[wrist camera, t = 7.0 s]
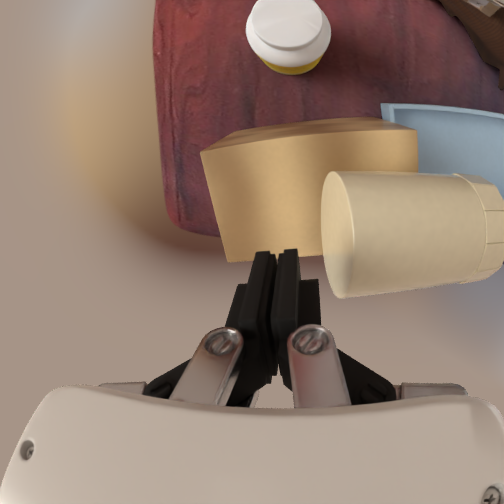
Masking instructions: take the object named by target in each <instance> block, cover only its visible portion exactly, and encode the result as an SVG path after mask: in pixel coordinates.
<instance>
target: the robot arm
mask: <svg viewBox="0 0 504 504" xmlns="http://www.w3.org/2000/svg"><path fill="white" fill-rule="evenodd" d="M278 364H279V369H280V375H281V376H282V378H283V383H284V385H285V386H286V387H287V388H288V389H290V390H291V391H292V392H293V400H294V409H272V408H271V409H270V408H255V405H256V402H257V399H258V397H259V389H260V388H262V387H263V386H264V385H266V384H271V380H272V376H276V375H277V371H278ZM0 504H504V418H503V416H502V415H501V413H500V412H499V410H498V409H497V408H496V407H495V406H494V405H493V404H492V403H489V402H488V401H486V400H483V399H480V398H476V397H471V396H468V393H467V391H466V390H465V389H464V388H463V387H462V386H460V385H458V384H452V383H451V384H450V383H449V384H433V383H430V384H429V383H402V384H401V385H392V384H391V383H390V382H389V381H388V380H386V379H385V378H383V377H381V376H380V375H378V374H377V373H375V372H374V371H372V370H370V369H369V368H367V367H365V366H364V365H362V364H361V363H359V362H358V361H356V360H354V359H353V358H351V357H350V356H348V355H347V354H345V353H343V352H342V351H340V350H339V349H337V348H336V345H335V341H334V338H333V335H332V333H331V332H330V331H329V330H328V329H327V328H325V327H323V326H321V313H320V297H319V283H318V279H310V280H301V275H300V265H299V256H298V249H297V248H295V249H284V253H279V256H278V264H277V260H276V255H275V254H271V253H270V251H258V252H256V253H255V257H254V261H253V265H252V269H251V273H250V276H249V280H248V284H238V286H237V289H236V292H235V295H234V298H233V302H232V305H231V308H230V311H229V315H228V318H227V321H226V325H225V327H222V328H217V329H215V330H212V331H210V332H209V333H208V334H207V335H205V337H204V338H203V339H202V341H201V343H200V344H199V346H198V348H197V350H196V351H195V353H194V355H193V357H192V358H191V359H189V360H188V361H186V362H184V363H182V364H181V365H179V366H177V367H175V368H174V369H172V370H170V371H168V372H167V373H165V374H163V375H161V376H159V377H158V378H156V379H154V380H153V381H151V382H150V383H149V384H147V383H146V382H128V383H104V384H101V385H99V386H91V385H70V386H63V387H59V388H56V389H54V390H52V391H51V392H49V393H48V394H47V395H46V397H45V398H44V399H43V400H42V402H41V403H40V404H39V406H38V407H37V409H36V410H35V412H34V414H33V415H32V417H31V419H30V421H29V422H28V424H27V426H26V428H25V430H24V432H23V434H22V436H21V438H20V440H19V442H18V444H17V446H16V449H15V451H14V453H13V456H12V458H11V460H10V463H9V465H8V468H7V470H6V473H5V475H4V478H3V481H2V484H1V487H0Z"/></svg>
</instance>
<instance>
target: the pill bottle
mask: <svg viewBox="0 0 504 504" xmlns="http://www.w3.org/2000/svg"><path fill="white" fill-rule="evenodd" d="M246 35H247V39H248V42H249V44H250V46H251V47H252V49H253V50H254V52H255V53H256V54H257V55H258V56H259V57H260V58H261V60H262V61H263V62H264V63H265V64H266V65H267V66H268V67H269V68H271V69H272V70H274V71H276V72H278V73H281V74H285V75H299V74H303V73H306V72H308V71H310V70H311V69H313V68H314V67H315V66H316V65H317V64H318V63H319V61H320V59H321V58H322V56H323V54H324V53H325V51H326V49H327V47H328V45H329V42H330V38H331V28H330V24H329V21H328V19H327V17H326V15H325V14H324V13H323V11H322V10H321V9H320V8H319V6H318V5H317V4H316V3H315V1H314V0H258V1H257V2H256V4H255V5H254V7H253V9H252V12H251V14H250V16H249V18H248V20H247V24H246Z"/></svg>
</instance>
